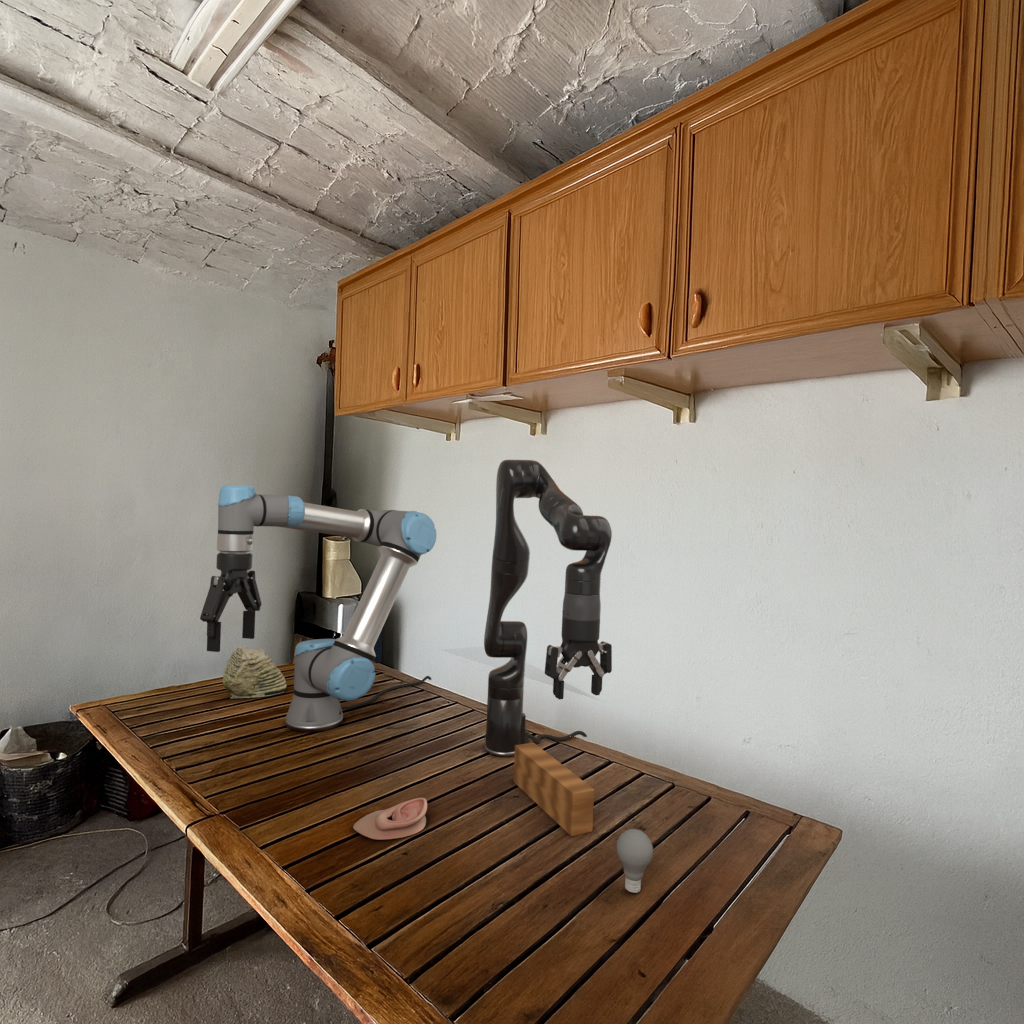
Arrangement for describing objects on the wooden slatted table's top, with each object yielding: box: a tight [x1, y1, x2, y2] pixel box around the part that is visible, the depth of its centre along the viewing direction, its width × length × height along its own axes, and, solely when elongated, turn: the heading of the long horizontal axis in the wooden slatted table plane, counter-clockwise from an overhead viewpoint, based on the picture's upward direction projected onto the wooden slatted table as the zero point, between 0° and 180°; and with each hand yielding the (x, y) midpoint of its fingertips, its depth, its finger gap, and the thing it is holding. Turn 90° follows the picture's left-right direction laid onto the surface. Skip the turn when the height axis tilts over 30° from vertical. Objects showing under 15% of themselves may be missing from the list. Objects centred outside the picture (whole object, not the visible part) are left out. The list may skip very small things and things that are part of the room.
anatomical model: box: [352, 797, 428, 841], centre depth 123 cm, size 13×4×12 cm
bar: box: [512, 742, 595, 837], centre depth 135 cm, size 25×5×8 cm, turn 26°
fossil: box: [222, 646, 288, 699], centre depth 198 cm, size 9×18×15 cm, turn 132°
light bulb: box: [615, 828, 654, 894], centre depth 106 cm, size 6×6×10 cm
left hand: (231, 644), depth 146 cm, fingers open, 13 cm apart
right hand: (577, 696), depth 126 cm, fingers open, 8 cm apart
